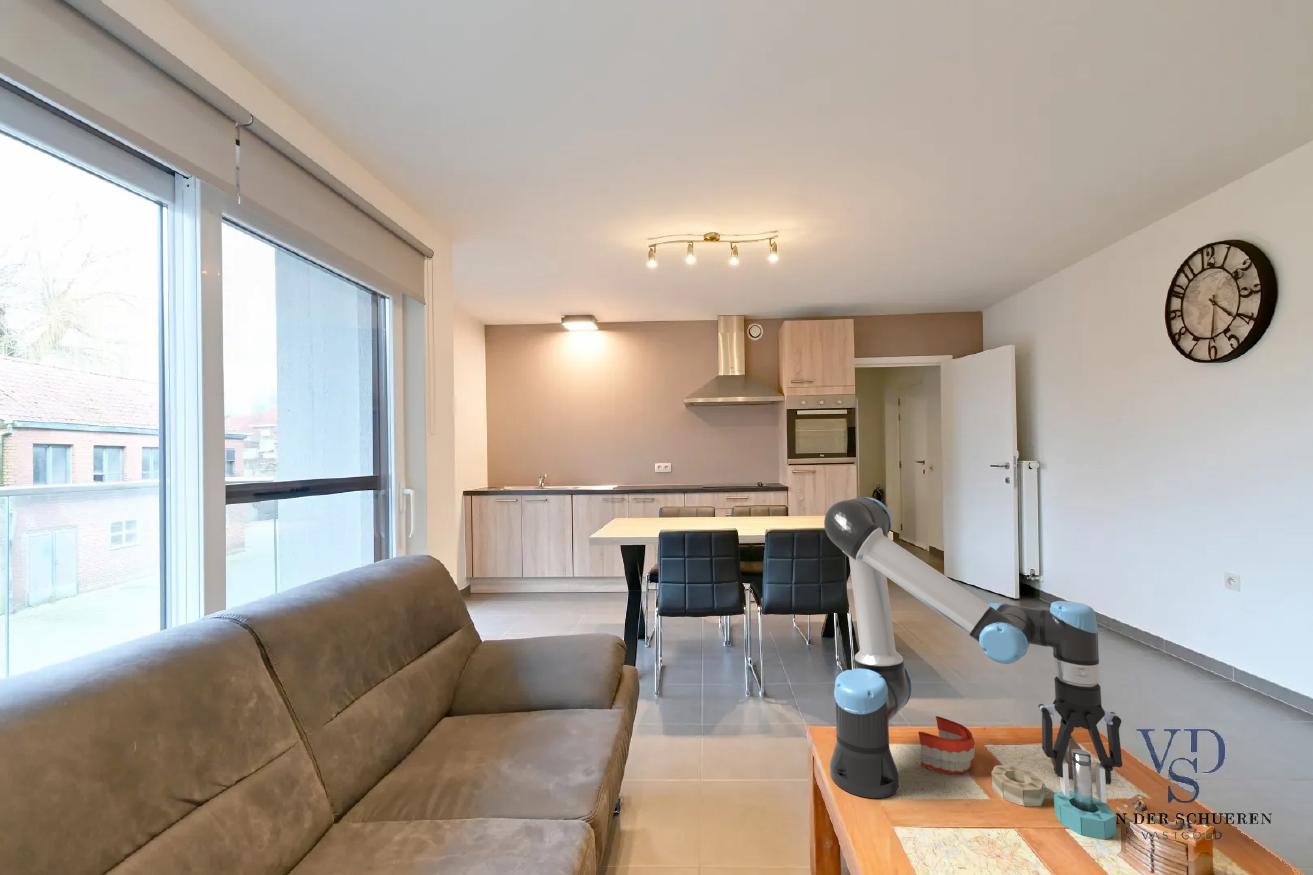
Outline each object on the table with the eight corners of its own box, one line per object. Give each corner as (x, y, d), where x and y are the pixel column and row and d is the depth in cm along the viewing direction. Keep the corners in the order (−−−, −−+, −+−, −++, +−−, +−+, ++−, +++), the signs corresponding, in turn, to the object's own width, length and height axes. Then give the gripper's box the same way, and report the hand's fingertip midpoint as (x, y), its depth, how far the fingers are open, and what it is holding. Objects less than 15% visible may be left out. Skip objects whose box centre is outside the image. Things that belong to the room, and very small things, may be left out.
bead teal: (1065, 832, 108) (1064, 814, 108) (1050, 804, 116) (1049, 787, 116) (1122, 842, 104) (1121, 824, 105) (1102, 813, 113) (1101, 795, 113)
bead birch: (1011, 806, 116) (1011, 790, 116) (984, 781, 125) (983, 765, 125) (1053, 805, 116) (1053, 788, 116) (1023, 779, 125) (1022, 764, 125)
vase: (1094, 783, 123) (1092, 744, 123) (1060, 781, 124) (1058, 742, 125) (1077, 766, 130) (1075, 729, 130) (1045, 764, 131) (1043, 727, 131)
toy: (965, 784, 124) (963, 748, 124) (918, 766, 132) (917, 732, 132) (983, 762, 133) (981, 729, 133) (938, 746, 140) (936, 715, 140)
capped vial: (1078, 825, 109) (1074, 755, 110) (1072, 816, 112) (1069, 747, 113) (1096, 829, 108) (1093, 757, 109) (1090, 819, 111) (1087, 750, 112)
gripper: (1029, 681, 111) (1035, 797, 110) (1141, 693, 105) (1149, 816, 104) (1019, 668, 118) (1024, 776, 117) (1124, 678, 112) (1130, 793, 111)
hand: (1083, 795), depth 111 cm, fingers open, 5 cm apart
